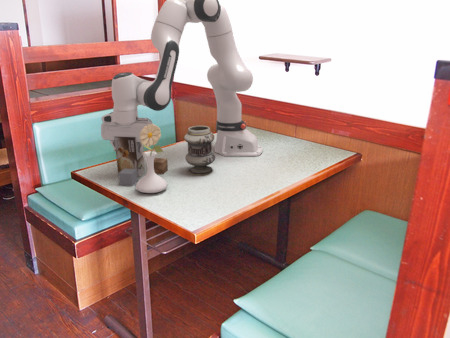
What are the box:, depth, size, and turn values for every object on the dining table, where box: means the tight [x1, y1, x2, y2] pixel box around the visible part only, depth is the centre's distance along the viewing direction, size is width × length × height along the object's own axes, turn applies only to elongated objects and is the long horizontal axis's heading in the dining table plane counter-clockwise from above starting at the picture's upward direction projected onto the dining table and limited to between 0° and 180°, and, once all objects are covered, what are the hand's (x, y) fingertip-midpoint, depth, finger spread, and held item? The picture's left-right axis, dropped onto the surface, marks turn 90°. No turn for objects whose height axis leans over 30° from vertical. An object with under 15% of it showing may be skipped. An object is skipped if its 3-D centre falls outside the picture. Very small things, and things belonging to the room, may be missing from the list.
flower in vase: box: [135, 123, 169, 194], centre depth 146 cm, size 13×11×25 cm
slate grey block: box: [118, 168, 139, 187], centre depth 156 cm, size 5×5×5 cm
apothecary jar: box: [183, 125, 216, 176], centre depth 165 cm, size 12×12×18 cm
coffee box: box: [114, 137, 146, 178], centre depth 163 cm, size 9×6×16 cm
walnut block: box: [154, 157, 169, 175], centre depth 167 cm, size 5×5×5 cm
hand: (128, 151), depth 162 cm, fingers closed on coffee box, 8 cm apart
